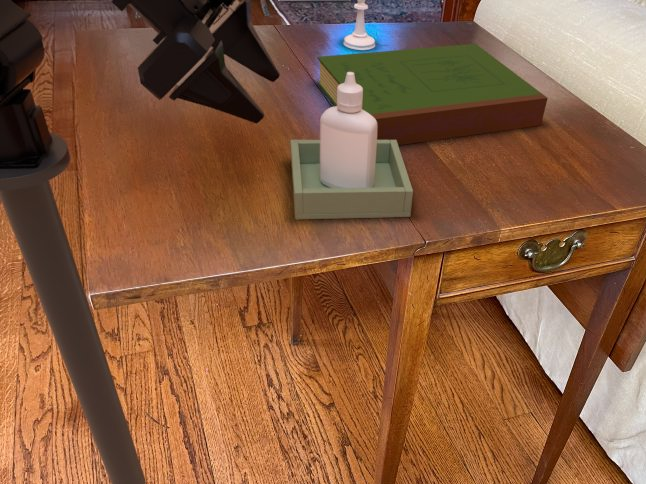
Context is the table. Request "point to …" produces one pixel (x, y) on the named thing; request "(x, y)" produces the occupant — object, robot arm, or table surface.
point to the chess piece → (359, 31)
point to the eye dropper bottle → (348, 140)
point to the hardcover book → (436, 92)
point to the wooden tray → (336, 203)
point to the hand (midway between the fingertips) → (269, 98)
